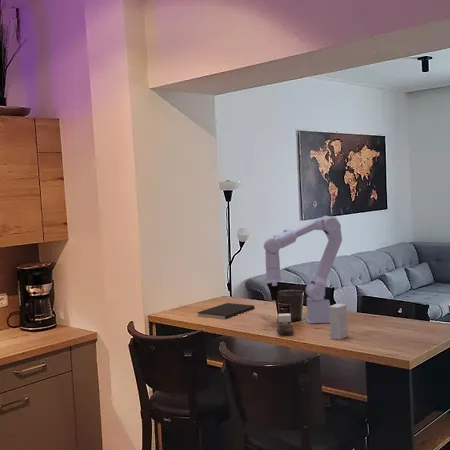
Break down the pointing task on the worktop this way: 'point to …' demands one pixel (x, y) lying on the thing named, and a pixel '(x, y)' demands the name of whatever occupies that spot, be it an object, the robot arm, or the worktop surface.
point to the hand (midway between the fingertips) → (274, 300)
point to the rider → (284, 318)
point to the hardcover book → (225, 310)
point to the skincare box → (338, 321)
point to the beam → (284, 327)
